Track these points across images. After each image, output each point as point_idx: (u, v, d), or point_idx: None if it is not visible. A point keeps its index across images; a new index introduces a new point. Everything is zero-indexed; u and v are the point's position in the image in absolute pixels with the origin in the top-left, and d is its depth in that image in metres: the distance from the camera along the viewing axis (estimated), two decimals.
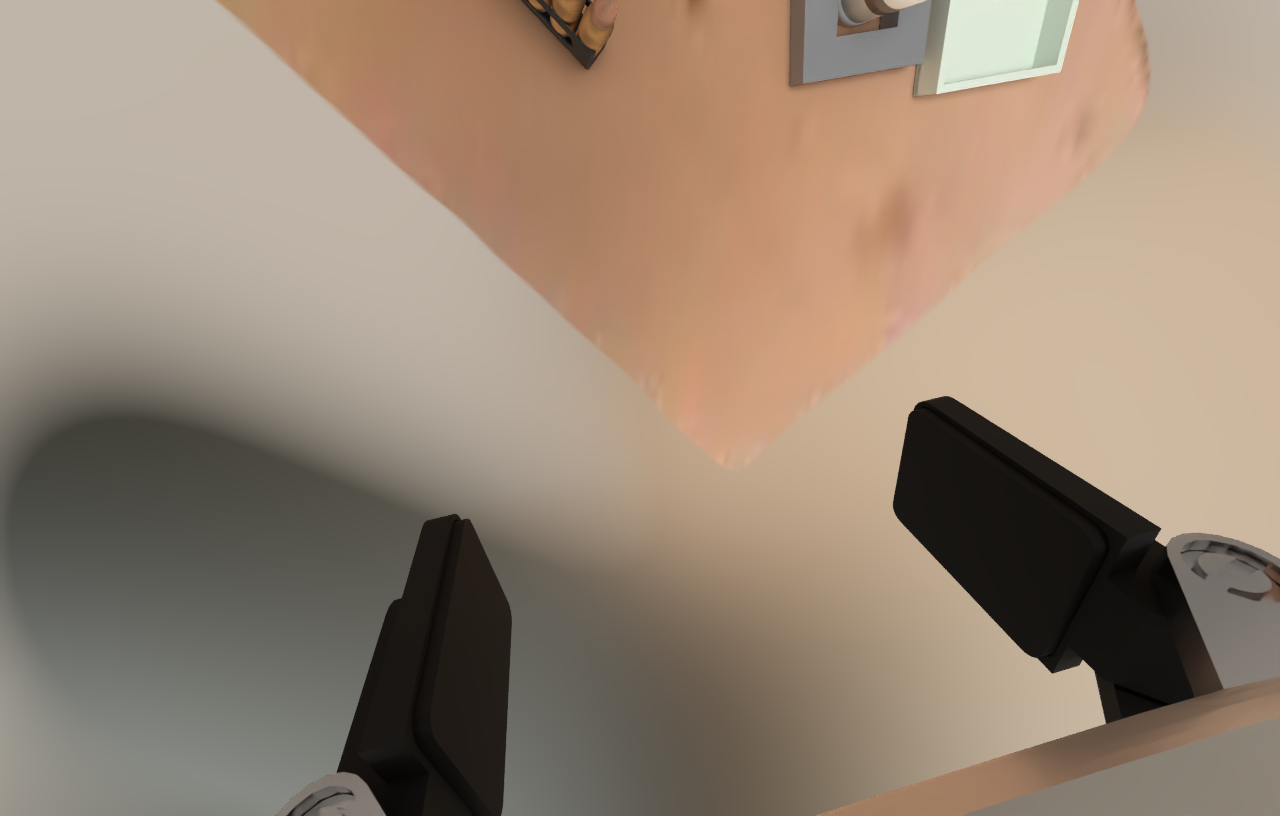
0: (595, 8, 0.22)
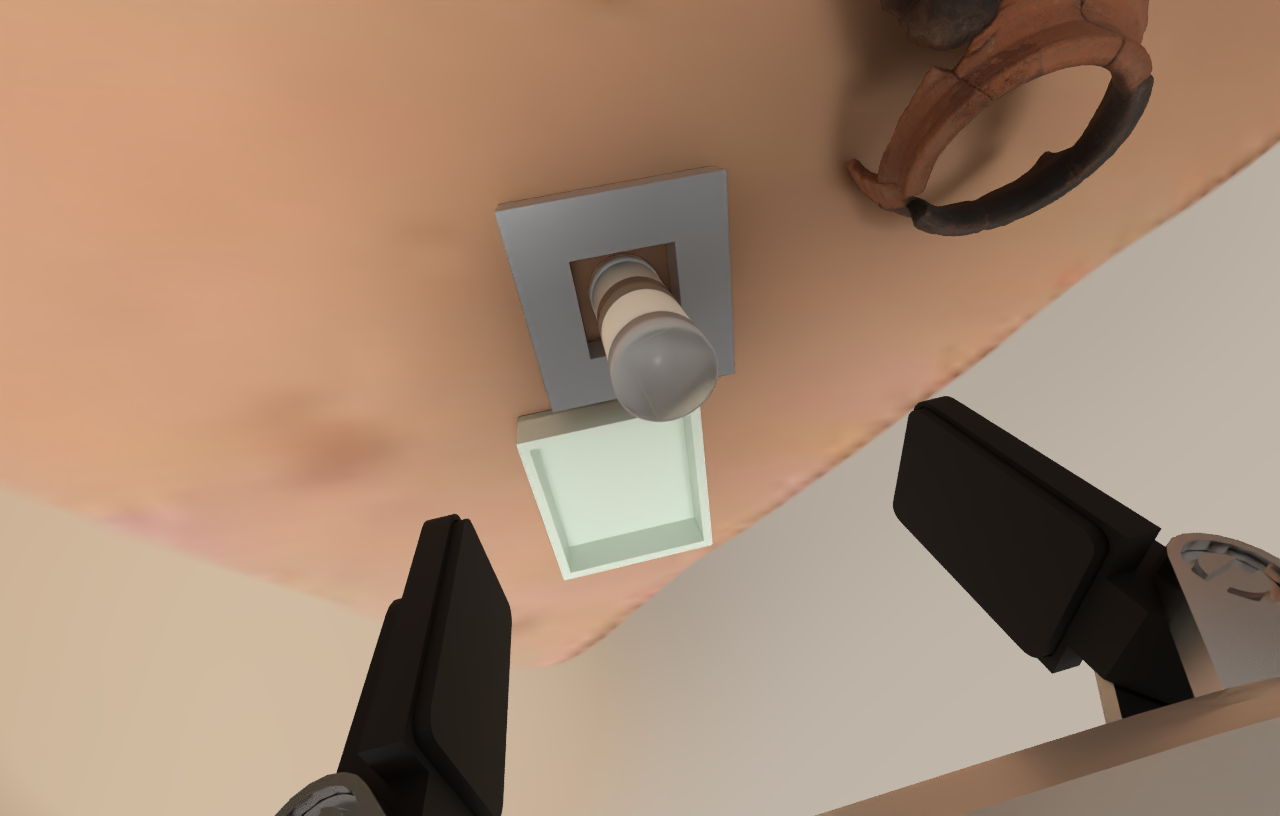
0: None
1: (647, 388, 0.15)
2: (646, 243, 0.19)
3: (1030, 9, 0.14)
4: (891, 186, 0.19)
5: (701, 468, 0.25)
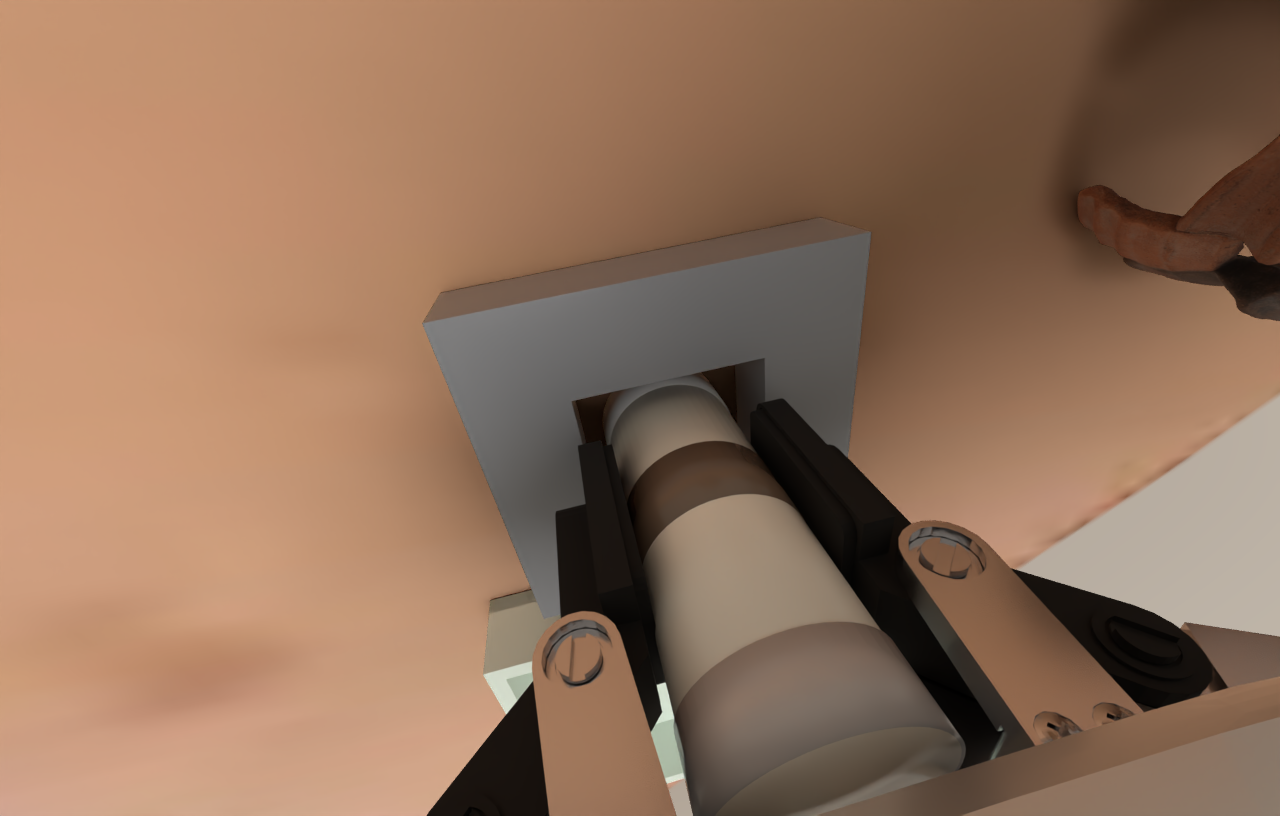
0: None
1: None
2: (714, 363, 0.10)
3: None
4: (1209, 238, 0.10)
5: None
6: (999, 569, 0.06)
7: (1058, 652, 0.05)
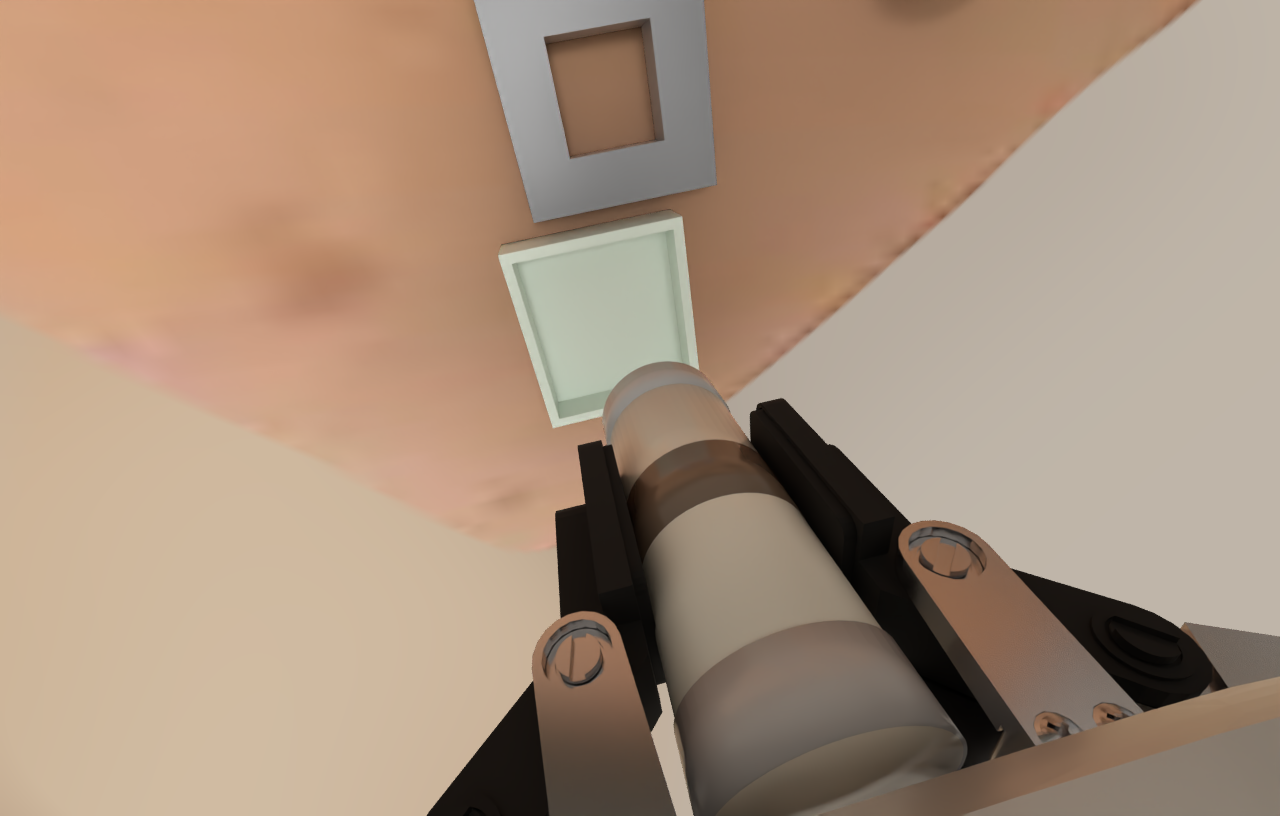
0: None
1: None
2: (621, 18, 0.19)
3: None
4: None
5: (686, 296, 0.25)
6: (999, 569, 0.06)
7: (1058, 652, 0.05)
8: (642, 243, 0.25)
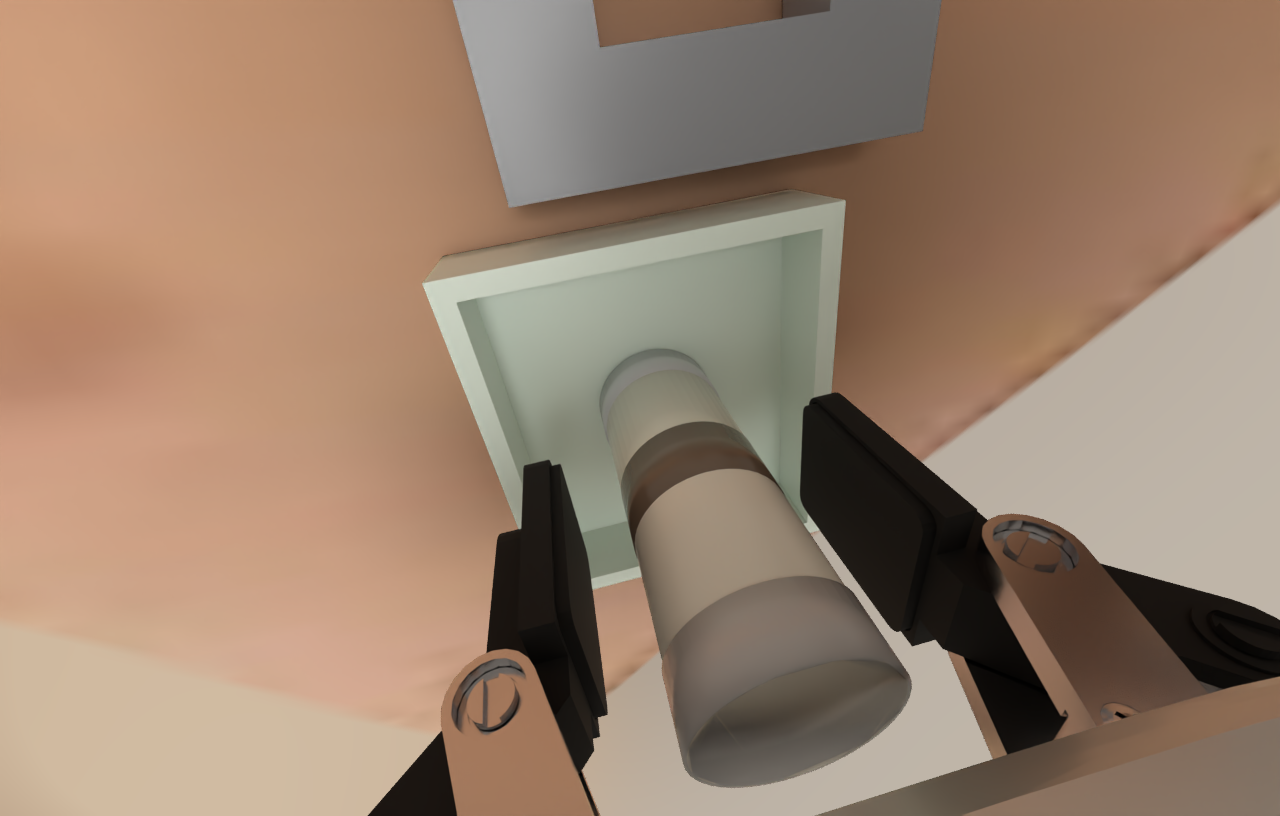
0: None
1: (755, 750, 0.07)
2: None
3: None
4: None
5: (825, 367, 0.12)
6: (1092, 569, 0.06)
7: (1144, 653, 0.05)
8: (733, 257, 0.12)
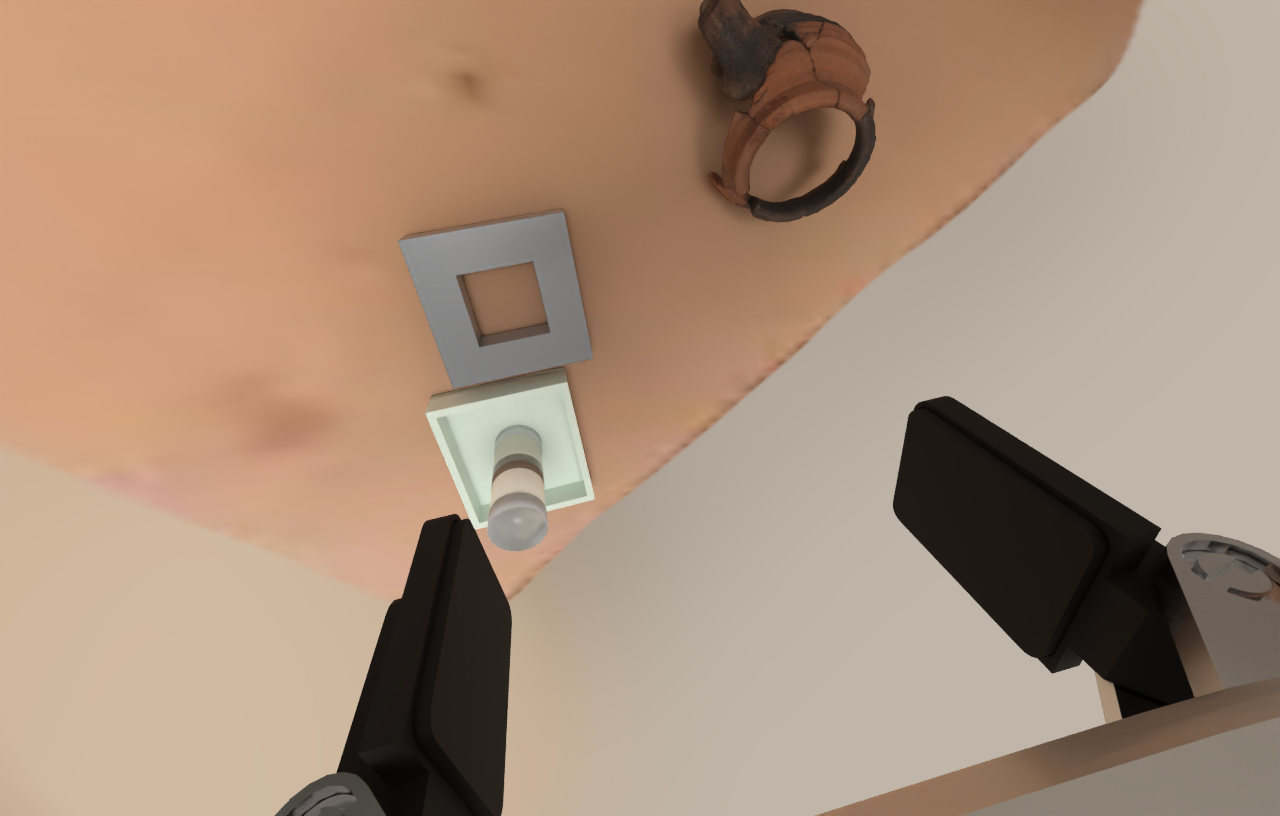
0: None
1: (508, 535, 0.27)
2: (512, 262, 0.27)
3: (784, 75, 0.22)
4: (733, 189, 0.27)
5: (576, 433, 0.33)
6: None
7: None
8: None
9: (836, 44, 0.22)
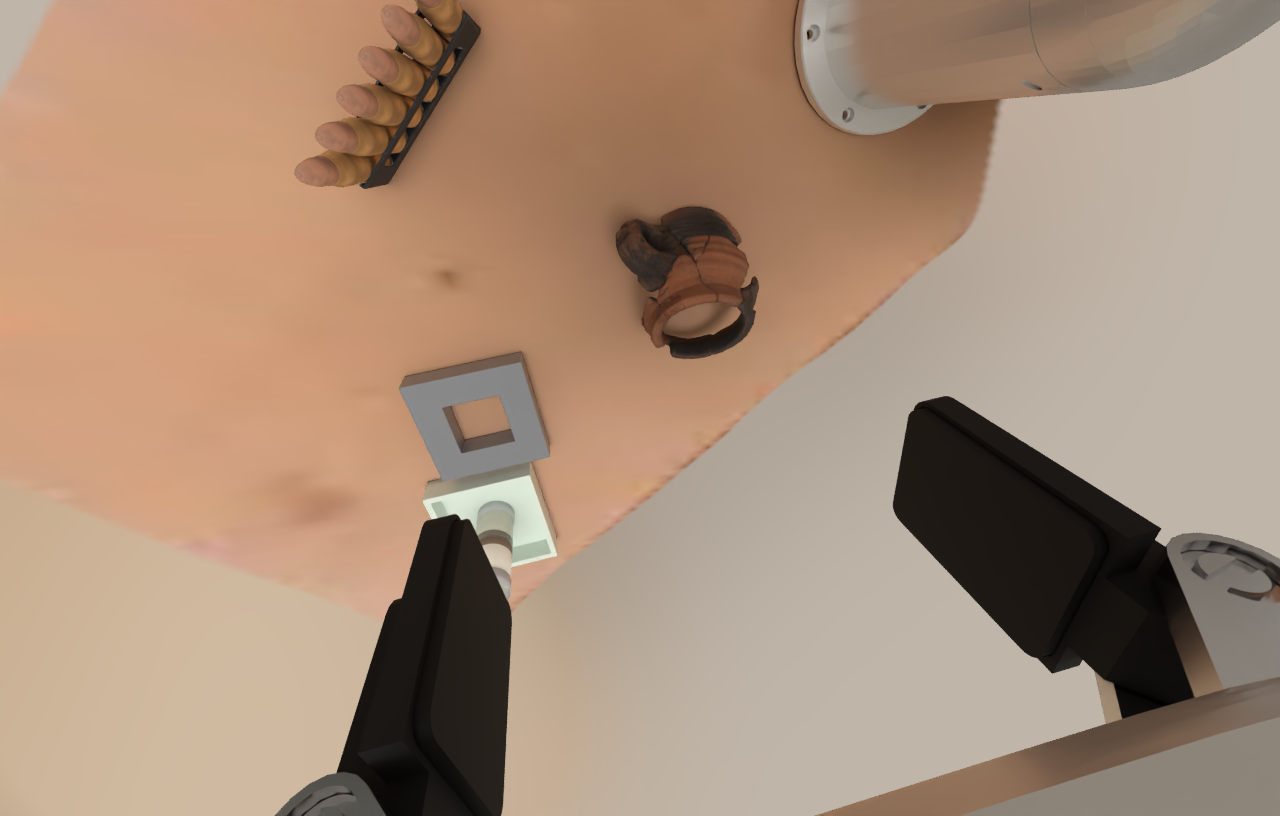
0: (306, 160, 0.20)
1: None
2: (483, 397, 0.36)
3: (678, 279, 0.31)
4: None
5: (539, 510, 0.42)
6: None
7: None
8: None
9: (717, 256, 0.31)
